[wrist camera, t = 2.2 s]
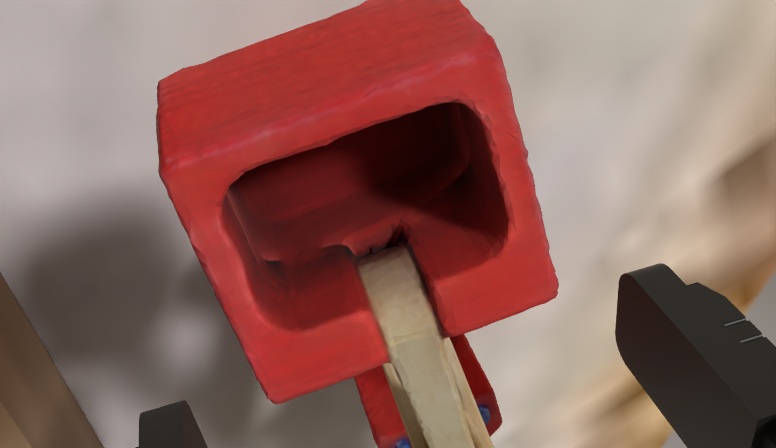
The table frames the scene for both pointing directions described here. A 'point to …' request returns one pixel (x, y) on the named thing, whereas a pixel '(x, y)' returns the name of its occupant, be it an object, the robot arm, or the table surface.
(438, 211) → the toy fire truck
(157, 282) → the table surface
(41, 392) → the platform
